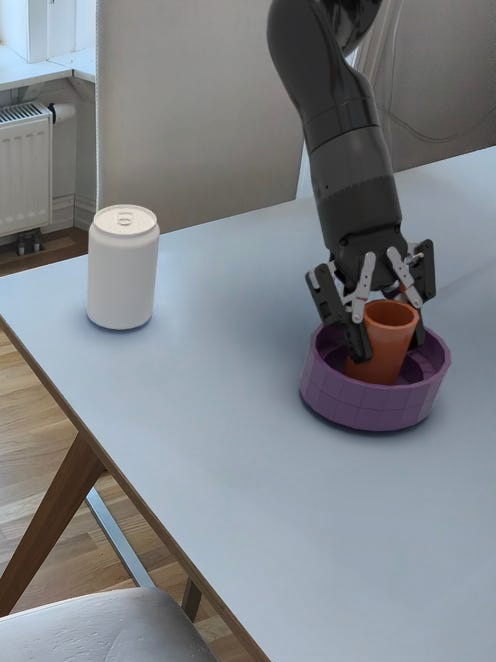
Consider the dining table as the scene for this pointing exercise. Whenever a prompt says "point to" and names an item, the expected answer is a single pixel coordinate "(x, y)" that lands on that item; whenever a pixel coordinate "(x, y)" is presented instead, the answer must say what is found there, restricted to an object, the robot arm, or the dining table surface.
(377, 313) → the cup
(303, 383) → the bowl
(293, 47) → the robot arm
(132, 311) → the beverage can
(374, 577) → the dining table surface
